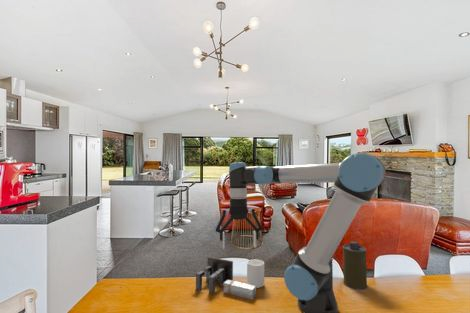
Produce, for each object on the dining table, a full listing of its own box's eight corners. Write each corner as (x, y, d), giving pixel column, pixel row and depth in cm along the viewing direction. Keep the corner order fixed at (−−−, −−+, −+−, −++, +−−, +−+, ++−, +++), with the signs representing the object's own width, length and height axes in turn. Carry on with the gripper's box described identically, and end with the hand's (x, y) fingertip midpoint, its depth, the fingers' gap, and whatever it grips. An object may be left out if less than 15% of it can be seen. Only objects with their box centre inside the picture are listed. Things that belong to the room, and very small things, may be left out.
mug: (245, 277, 123) (245, 256, 123) (261, 277, 123) (261, 256, 124) (247, 288, 111) (247, 265, 112) (265, 288, 111) (265, 265, 112)
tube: (255, 295, 105) (255, 285, 105) (252, 299, 101) (252, 290, 102) (227, 288, 111) (227, 279, 112) (223, 292, 108) (223, 283, 108)
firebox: (232, 282, 117) (232, 261, 118) (218, 295, 105) (218, 271, 105) (208, 276, 123) (208, 256, 124) (192, 288, 111) (192, 266, 111)
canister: (362, 292, 108) (361, 247, 110) (339, 283, 116) (338, 241, 117) (371, 284, 116) (369, 242, 117) (348, 277, 123) (348, 237, 125)
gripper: (264, 196, 110) (266, 243, 108) (210, 197, 108) (210, 246, 106) (268, 197, 102) (269, 248, 101) (209, 199, 100) (210, 251, 99)
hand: (239, 247), depth 103 cm, fingers open, 13 cm apart
